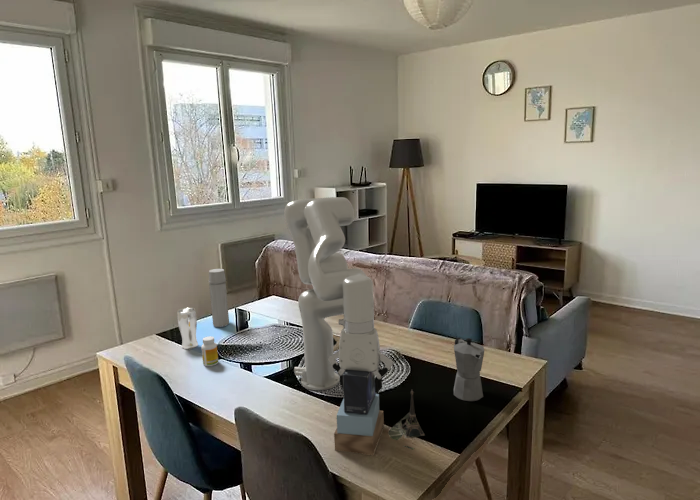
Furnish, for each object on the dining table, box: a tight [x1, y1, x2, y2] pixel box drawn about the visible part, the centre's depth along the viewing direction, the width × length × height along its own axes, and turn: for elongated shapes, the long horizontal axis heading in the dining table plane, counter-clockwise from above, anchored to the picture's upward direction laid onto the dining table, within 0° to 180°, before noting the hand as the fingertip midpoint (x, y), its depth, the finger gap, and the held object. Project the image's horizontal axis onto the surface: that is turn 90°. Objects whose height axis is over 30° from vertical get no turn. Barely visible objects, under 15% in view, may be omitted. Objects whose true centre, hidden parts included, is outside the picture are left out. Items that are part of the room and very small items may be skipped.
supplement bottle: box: [200, 335, 219, 367], centre depth 176 cm, size 5×5×10 cm
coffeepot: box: [453, 337, 485, 402], centre depth 148 cm, size 15×9×18 cm, turn 13°
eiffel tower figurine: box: [387, 390, 426, 450], centre depth 129 cm, size 15×10×13 cm
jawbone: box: [333, 334, 340, 352], centre depth 188 cm, size 9×20×2 cm, turn 0°
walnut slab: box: [333, 409, 385, 456], centre depth 127 cm, size 10×13×5 cm
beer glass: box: [176, 307, 199, 350], centre depth 192 cm, size 7×7×15 cm
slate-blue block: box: [336, 393, 380, 436], centre depth 126 cm, size 9×12×5 cm
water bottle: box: [207, 268, 230, 328], centre depth 214 cm, size 9×8×25 cm
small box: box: [342, 370, 377, 414], centre depth 125 cm, size 11×6×10 cm, turn 166°
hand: (361, 389), depth 125 cm, fingers open, 8 cm apart
